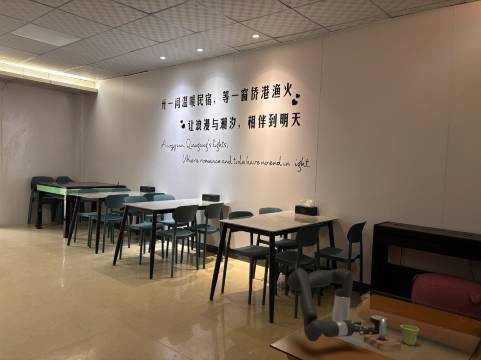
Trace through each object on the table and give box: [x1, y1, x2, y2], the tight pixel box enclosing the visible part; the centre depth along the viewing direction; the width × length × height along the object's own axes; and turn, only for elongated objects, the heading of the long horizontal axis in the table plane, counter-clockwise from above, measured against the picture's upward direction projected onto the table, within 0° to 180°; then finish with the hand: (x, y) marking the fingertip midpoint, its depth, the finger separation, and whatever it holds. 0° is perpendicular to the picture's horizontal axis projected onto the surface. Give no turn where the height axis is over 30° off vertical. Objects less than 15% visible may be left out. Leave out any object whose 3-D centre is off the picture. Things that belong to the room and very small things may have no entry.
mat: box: [338, 335, 371, 347], centre depth 202 cm, size 14×10×1 cm
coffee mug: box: [369, 315, 388, 335], centre depth 217 cm, size 12×9×10 cm
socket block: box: [363, 334, 402, 352], centre depth 198 cm, size 14×12×4 cm
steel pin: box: [379, 317, 388, 341], centre depth 199 cm, size 3×3×14 cm
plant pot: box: [400, 324, 420, 346], centre depth 207 cm, size 9×9×9 cm
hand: (366, 326), depth 194 cm, fingers open, 8 cm apart
